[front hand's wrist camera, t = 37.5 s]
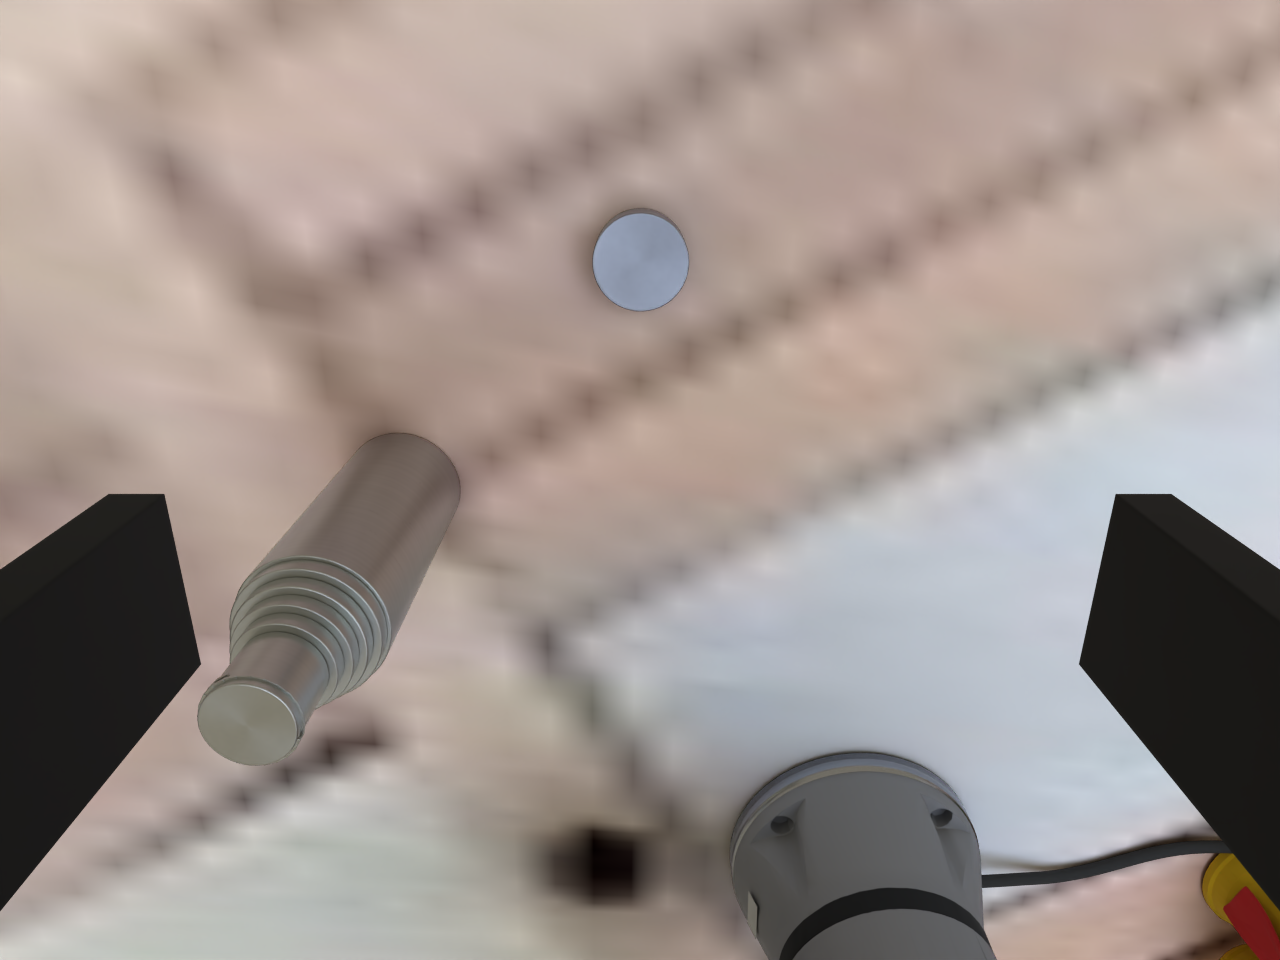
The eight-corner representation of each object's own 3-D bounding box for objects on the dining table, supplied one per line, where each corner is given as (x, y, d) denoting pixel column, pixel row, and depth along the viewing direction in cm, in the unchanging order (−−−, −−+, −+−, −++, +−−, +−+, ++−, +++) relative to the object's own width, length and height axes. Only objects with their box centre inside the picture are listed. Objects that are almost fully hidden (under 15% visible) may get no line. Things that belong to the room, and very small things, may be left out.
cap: (702, 235, 43) (706, 241, 40) (660, 317, 44) (661, 327, 42) (620, 191, 42) (618, 195, 40) (579, 276, 43) (576, 284, 41)
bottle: (329, 505, 48) (126, 754, 29) (373, 412, 46) (188, 613, 27) (431, 555, 49) (300, 827, 30) (479, 467, 47) (372, 697, 28)
